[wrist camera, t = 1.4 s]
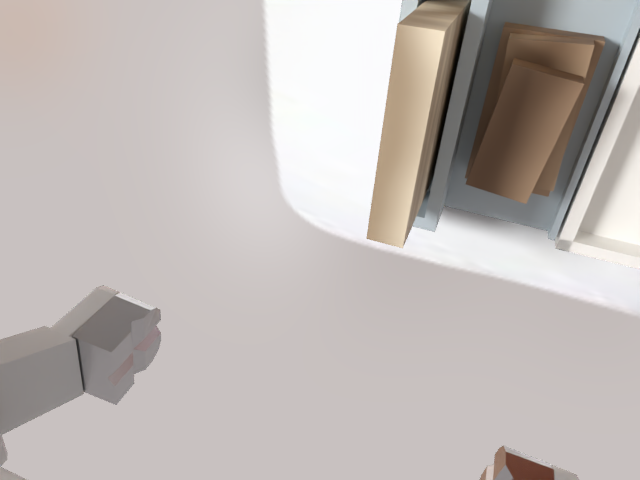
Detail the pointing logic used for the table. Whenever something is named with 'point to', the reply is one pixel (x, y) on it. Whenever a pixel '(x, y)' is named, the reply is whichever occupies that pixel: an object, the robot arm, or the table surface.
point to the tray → (610, 181)
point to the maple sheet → (415, 114)
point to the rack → (470, 91)
